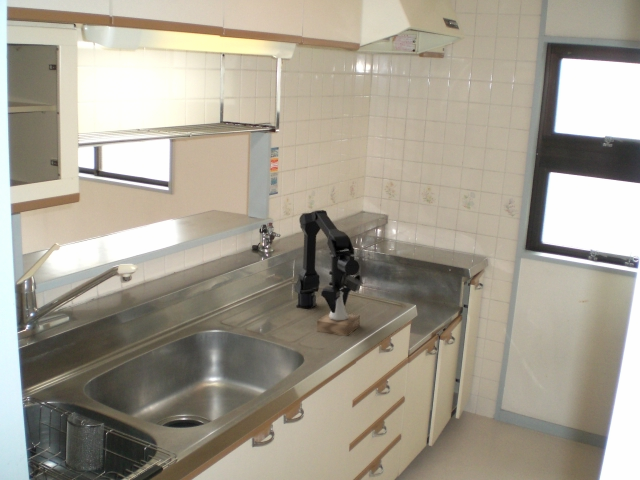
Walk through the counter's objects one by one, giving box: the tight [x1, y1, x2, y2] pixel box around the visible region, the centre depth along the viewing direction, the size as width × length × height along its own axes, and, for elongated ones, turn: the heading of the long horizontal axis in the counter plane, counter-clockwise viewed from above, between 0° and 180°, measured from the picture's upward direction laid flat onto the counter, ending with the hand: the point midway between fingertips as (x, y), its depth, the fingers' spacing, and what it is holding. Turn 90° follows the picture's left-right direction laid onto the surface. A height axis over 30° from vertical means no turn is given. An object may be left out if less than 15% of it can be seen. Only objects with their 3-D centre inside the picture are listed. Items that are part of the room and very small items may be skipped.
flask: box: [329, 291, 349, 321], centre depth 258 cm, size 7×7×10 cm
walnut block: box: [316, 311, 361, 337], centre depth 259 cm, size 12×12×4 cm
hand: (338, 309), depth 258 cm, fingers open, 9 cm apart
